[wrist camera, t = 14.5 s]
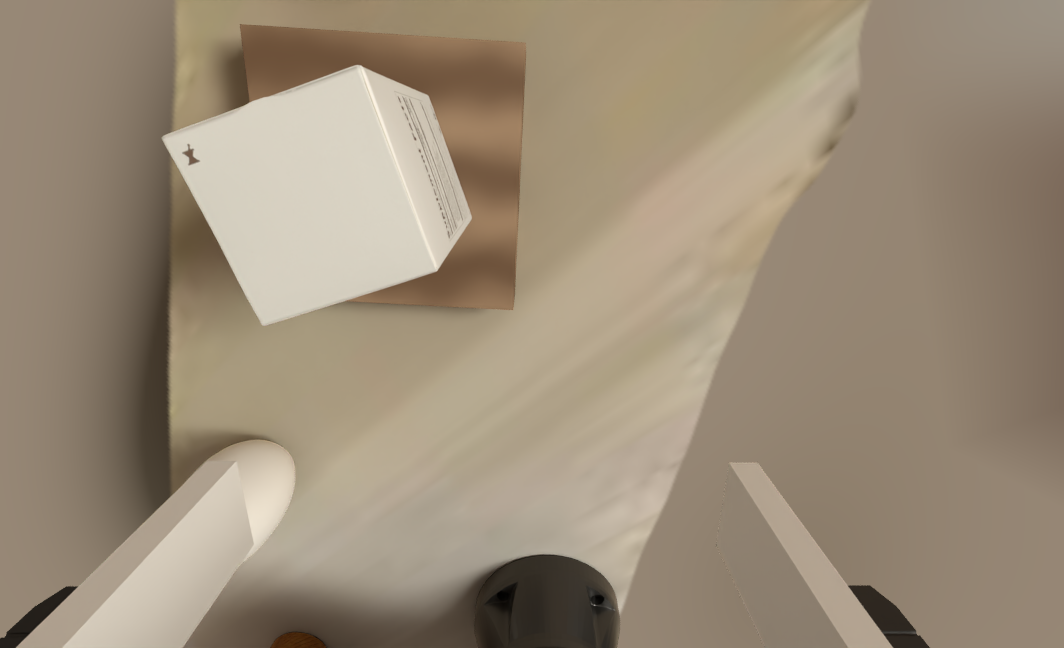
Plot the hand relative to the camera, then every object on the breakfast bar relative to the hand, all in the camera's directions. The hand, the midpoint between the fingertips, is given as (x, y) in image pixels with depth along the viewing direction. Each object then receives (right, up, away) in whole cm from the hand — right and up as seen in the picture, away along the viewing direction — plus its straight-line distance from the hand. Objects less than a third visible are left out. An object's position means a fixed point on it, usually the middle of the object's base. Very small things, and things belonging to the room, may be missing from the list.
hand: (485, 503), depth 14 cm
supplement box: (-8, +15, +22) cm, 28 cm away
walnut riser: (-9, +16, +25) cm, 31 cm away
